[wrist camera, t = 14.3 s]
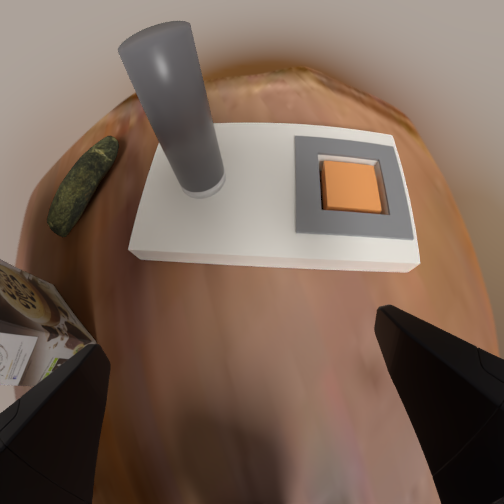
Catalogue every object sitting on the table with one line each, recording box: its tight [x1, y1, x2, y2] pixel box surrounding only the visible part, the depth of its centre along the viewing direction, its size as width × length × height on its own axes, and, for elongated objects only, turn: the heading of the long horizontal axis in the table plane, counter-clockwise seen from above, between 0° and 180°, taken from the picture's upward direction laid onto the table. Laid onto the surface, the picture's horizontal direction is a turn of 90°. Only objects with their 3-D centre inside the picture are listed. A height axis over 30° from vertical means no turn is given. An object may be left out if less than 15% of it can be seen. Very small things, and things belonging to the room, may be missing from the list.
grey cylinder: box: [118, 21, 226, 199], centre depth 17 cm, size 4×4×14 cm
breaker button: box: [321, 161, 382, 214], centre depth 23 cm, size 5×5×2 cm
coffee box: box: [0, 259, 96, 386], centre depth 14 cm, size 9×6×16 cm
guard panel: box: [128, 123, 420, 272], centre depth 24 cm, size 24×14×3 cm, turn 86°
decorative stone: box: [47, 136, 119, 237], centre depth 25 cm, size 11×8×5 cm
